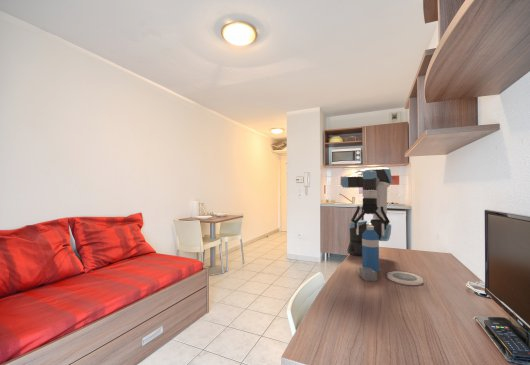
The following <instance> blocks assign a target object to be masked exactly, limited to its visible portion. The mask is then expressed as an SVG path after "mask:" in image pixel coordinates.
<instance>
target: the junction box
mask: <svg viewBox="0 0 530 365" xmlns="http://www.w3.org/2000/svg"><path fill="white" fill-rule="evenodd" d="M358 275H359V276H360V277H361V279H363V281H365V282H377V281H378V272H377V273H376V272H375V271H374V270H373V269H372V268H363V267H362V266H361V267H359V272H358Z"/></svg>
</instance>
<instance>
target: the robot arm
mask: <svg viewBox="0 0 530 365" xmlns="http://www.w3.org/2000/svg"><path fill="white" fill-rule="evenodd" d="M392 183H393V178H392V172H391V169H390V168H389V167H373V168H372V167H371V168H370V167H369V168H364V169H361V170H357V171H356V172H354V173H353V174H351V175H343V176H341V179H340V186H341V188H343V189H344V188H345V189H348V188H349V189H350V188H352V189H354V188H355V189H356V188H361V189H362V206H361V205H360V206H359V205H357V206H356V210H355V212H354V214H353V216H352V218H351V219H350V221H351V222H350V223H349V242H348V246H347V250H346V251H347V254H349V255H352V256H357V257H359V256H360V257H362V234H363V233H364V232H365V230H366V226H374V230H375V232H376V233H377V234H378V236H379V241H380V242H388V241H389V240H390V238H391V234H392V224H390V223H391V221H390V220H389V218H388V215H387V213H388V212H387V211H388V209H387V208H388V188H389V187H390V184H392ZM361 210H362V212H361V213H360V214H359V212H360V211H361ZM358 214H359V216H358ZM366 214H367V215H372V219H370V221H369V222H368V221H367V220H366V219H365V220H363V219H362V218H363V217H364V215H366Z"/></svg>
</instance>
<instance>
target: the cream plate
mask: <svg viewBox="0 0 530 365" xmlns="http://www.w3.org/2000/svg"><path fill="white" fill-rule="evenodd" d="M386 278H388V280H390V281H392V282H393V283H397V284H400V285H405V286H420V285H421V286H422V285H423V283H424V278H423V277H422V276H419V275H417V274H416V273H415V274H414V273H410V272H406V271H398V270H396V271H395V270H394V271H389V272H387V273H386Z"/></svg>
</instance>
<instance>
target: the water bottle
mask: <svg viewBox="0 0 530 365" xmlns="http://www.w3.org/2000/svg"><path fill="white" fill-rule="evenodd" d="M361 257H362V258H361V259H362V260H361V261H362V265H361V267H363V268H372V269H373V270H374V271H375V272H376V273H377V274H378V273H380V242H379V236H378V234H377V233H376V232H375V230H374V226H366V230H365V232H364V233H363V234H362V256H361Z"/></svg>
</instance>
